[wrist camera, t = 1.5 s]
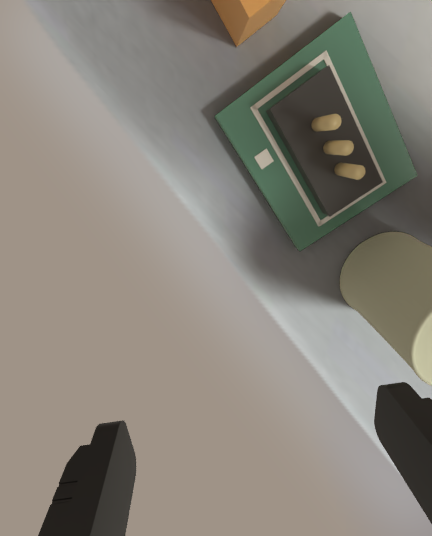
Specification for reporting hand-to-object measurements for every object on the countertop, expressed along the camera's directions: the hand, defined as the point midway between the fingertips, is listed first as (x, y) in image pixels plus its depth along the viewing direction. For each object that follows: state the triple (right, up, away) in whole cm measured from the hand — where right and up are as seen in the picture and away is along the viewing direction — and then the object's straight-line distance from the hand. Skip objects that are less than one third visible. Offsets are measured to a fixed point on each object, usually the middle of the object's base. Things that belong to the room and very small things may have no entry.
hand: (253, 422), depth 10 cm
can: (+16, +4, +23) cm, 28 cm away
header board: (+8, +15, +17) cm, 24 cm away
